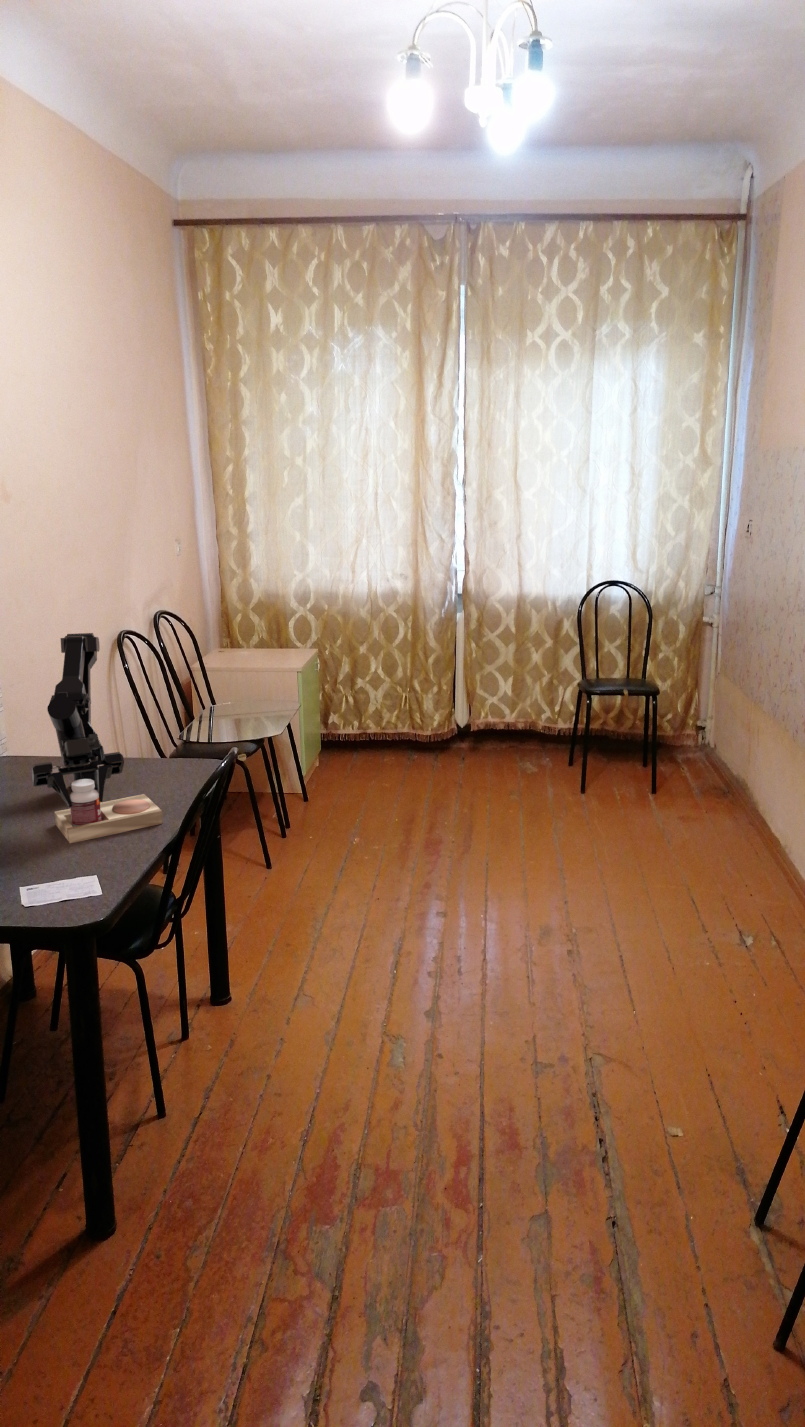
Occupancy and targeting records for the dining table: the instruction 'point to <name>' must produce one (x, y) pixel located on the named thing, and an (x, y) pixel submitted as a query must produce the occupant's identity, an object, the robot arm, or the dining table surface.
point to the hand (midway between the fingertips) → (85, 803)
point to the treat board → (112, 818)
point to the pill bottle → (84, 803)
